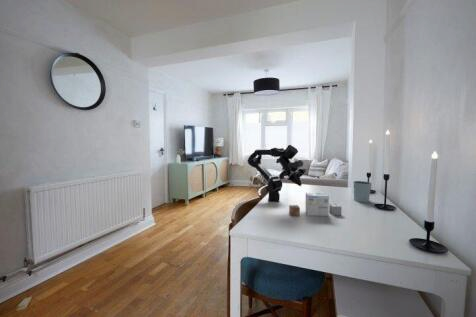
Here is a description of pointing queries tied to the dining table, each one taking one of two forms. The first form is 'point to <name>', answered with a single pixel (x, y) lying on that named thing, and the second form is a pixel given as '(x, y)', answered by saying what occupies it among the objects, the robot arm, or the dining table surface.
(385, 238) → the dining table surface
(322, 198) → the light bulb box
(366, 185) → the grey green container
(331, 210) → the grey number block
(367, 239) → the dining table surface
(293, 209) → the brown bevelled block
